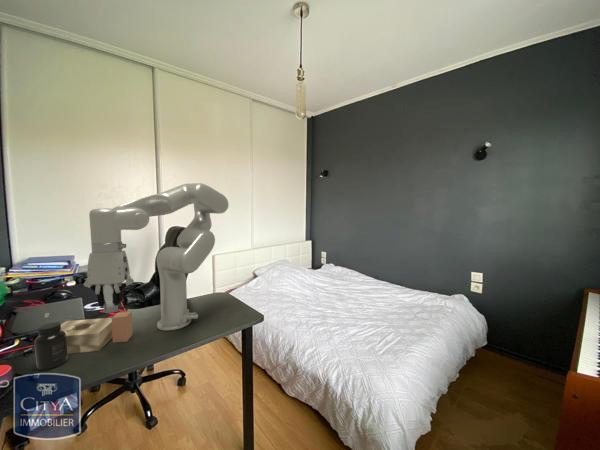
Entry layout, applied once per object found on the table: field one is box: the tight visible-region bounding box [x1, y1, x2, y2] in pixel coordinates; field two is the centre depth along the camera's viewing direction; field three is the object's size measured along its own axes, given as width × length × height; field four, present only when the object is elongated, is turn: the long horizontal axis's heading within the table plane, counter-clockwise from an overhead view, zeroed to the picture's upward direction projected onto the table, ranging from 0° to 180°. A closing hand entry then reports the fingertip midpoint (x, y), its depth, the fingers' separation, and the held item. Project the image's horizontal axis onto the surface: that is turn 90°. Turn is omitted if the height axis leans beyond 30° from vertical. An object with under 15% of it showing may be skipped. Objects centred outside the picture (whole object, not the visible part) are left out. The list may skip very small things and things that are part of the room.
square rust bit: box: [111, 311, 134, 344], centre depth 91 cm, size 4×4×9 cm
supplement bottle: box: [33, 322, 69, 371], centre depth 76 cm, size 7×7×12 cm
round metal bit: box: [102, 284, 119, 314], centre depth 80 cm, size 4×4×10 cm
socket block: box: [60, 317, 113, 355], centre depth 88 cm, size 16×12×6 cm
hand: (110, 303), depth 81 cm, fingers closed on round metal bit, 3 cm apart
